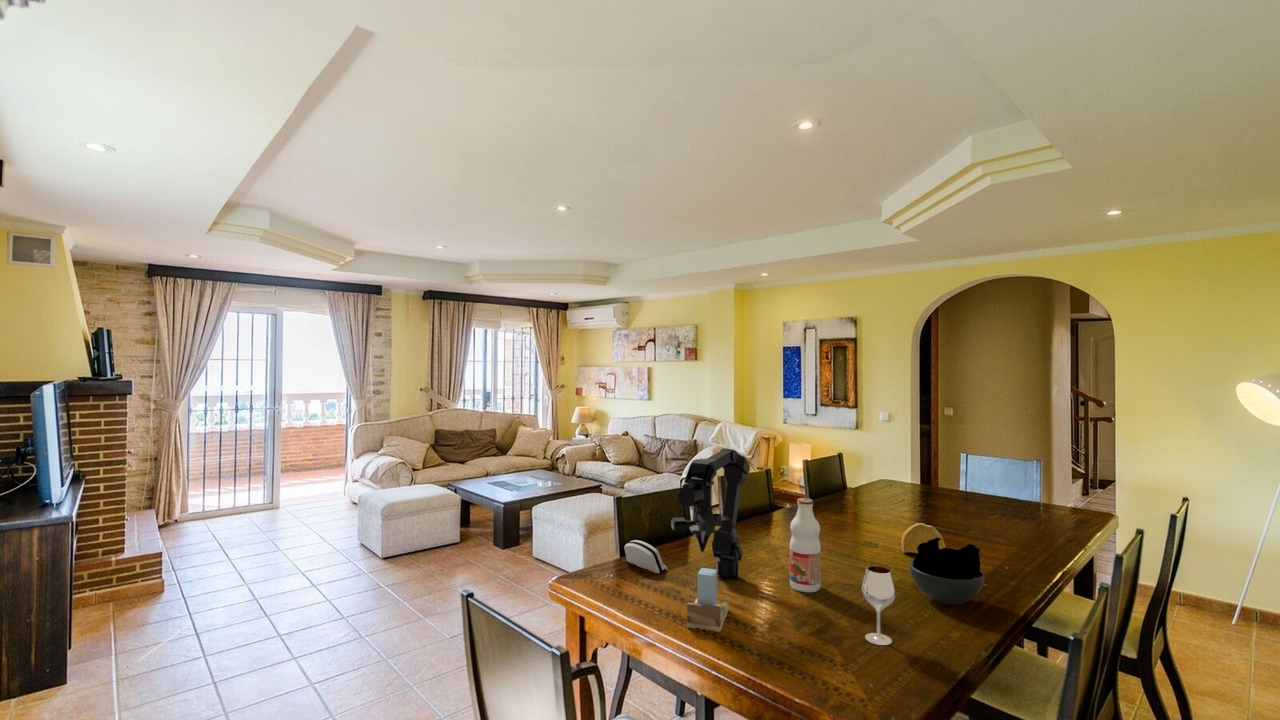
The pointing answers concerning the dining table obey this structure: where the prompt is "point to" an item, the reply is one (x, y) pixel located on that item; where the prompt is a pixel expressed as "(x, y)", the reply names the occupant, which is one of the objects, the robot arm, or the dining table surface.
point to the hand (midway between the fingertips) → (702, 551)
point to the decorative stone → (919, 537)
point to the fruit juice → (805, 549)
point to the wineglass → (878, 597)
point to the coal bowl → (947, 572)
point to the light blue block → (707, 587)
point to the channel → (707, 615)
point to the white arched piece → (644, 556)
